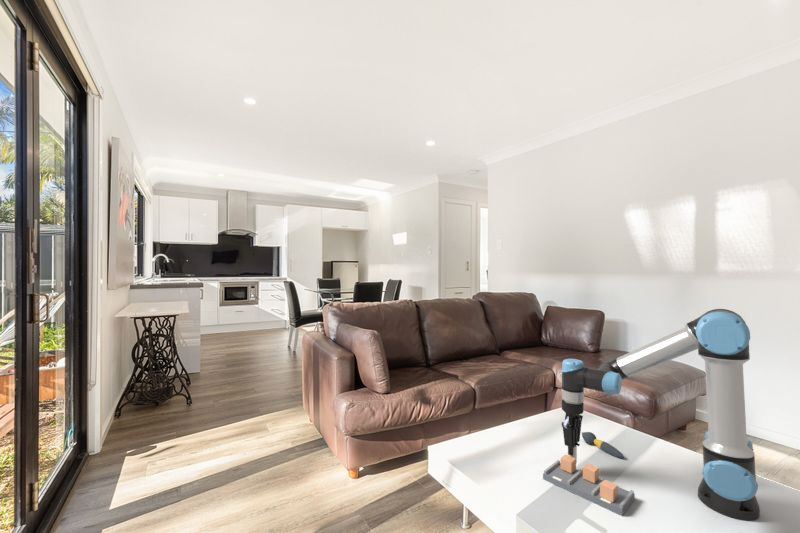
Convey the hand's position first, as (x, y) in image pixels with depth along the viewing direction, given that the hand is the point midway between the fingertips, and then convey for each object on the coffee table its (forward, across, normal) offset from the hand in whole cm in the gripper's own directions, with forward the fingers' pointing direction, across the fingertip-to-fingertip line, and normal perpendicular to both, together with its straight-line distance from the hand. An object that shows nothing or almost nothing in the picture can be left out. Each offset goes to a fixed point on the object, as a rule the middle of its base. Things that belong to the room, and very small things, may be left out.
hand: (572, 462), depth 139 cm
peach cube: (+1, +3, +8) cm, 9 cm away
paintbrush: (+4, -27, 0) cm, 27 cm away
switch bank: (+4, +7, +8) cm, 11 cm away
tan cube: (+1, +4, 0) cm, 4 cm away
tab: (+1, +10, +16) cm, 19 cm away
